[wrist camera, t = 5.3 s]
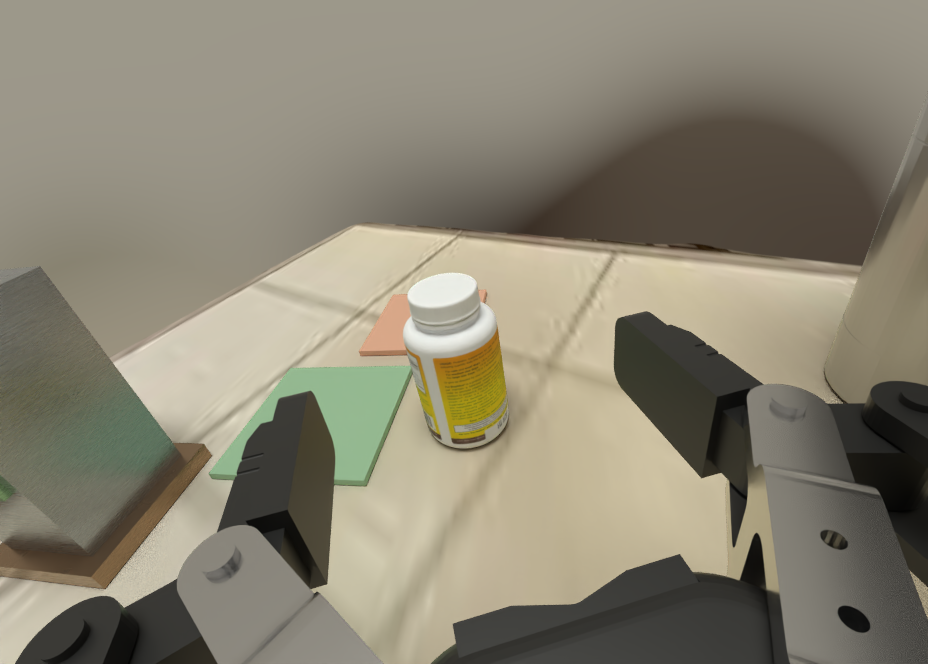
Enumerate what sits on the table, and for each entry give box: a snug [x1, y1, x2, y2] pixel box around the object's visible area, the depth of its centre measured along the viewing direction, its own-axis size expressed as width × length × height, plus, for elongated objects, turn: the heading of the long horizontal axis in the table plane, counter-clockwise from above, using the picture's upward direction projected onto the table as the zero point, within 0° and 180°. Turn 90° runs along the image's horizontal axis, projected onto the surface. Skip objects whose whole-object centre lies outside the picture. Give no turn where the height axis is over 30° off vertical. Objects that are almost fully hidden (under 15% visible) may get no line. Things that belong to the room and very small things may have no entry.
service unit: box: [0, 266, 212, 589], centre depth 24 cm, size 9×8×15 cm
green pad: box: [209, 366, 413, 486], centre depth 32 cm, size 11×11×1 cm
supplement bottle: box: [403, 273, 509, 448], centre depth 27 cm, size 6×6×10 cm
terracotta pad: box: [359, 290, 487, 356], centre depth 41 cm, size 10×10×1 cm
